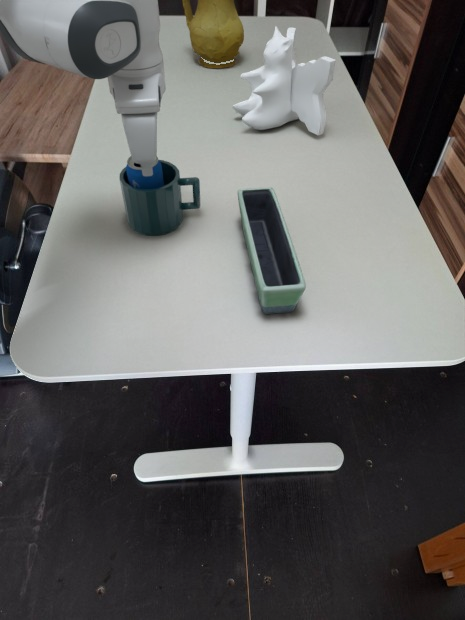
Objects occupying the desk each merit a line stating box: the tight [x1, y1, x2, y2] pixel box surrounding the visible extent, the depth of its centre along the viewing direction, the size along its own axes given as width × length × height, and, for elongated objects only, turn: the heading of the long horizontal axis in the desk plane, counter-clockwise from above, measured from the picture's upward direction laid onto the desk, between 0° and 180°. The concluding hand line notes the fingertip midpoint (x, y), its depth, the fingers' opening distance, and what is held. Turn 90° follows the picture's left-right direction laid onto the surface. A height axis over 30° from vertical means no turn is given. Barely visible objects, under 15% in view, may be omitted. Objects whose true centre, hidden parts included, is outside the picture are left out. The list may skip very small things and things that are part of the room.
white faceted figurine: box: [232, 25, 337, 136], centre depth 112 cm, size 25×21×21 cm
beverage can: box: [125, 155, 164, 189], centre depth 85 cm, size 6×6×12 cm
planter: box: [237, 187, 307, 315], centre depth 79 cm, size 28×7×7 cm, turn 7°
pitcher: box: [181, 0, 245, 69], centre depth 139 cm, size 17×19×25 cm
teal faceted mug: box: [119, 159, 201, 237], centre depth 87 cm, size 15×11×10 cm
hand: (147, 160), depth 80 cm, fingers open, 8 cm apart
